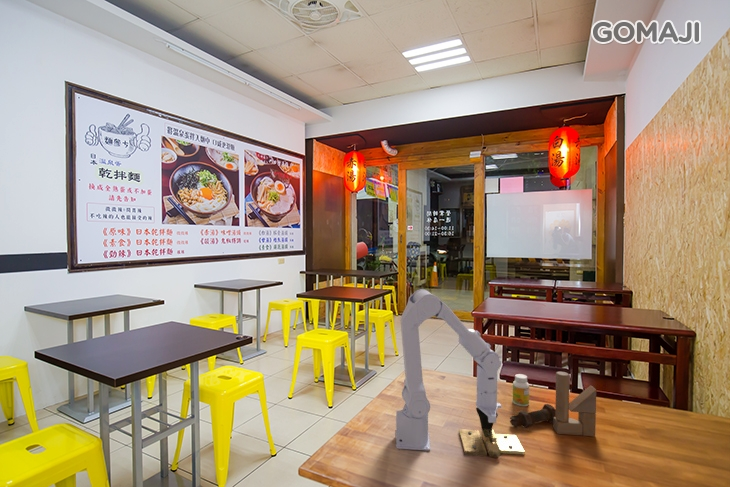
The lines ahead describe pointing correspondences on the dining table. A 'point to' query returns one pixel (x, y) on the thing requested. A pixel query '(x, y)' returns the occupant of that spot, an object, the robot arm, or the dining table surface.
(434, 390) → the dining table surface
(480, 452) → the fixed leaf
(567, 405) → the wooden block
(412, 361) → the robot arm
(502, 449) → the loose leaf
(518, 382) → the supplement bottle
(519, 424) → the bolt
